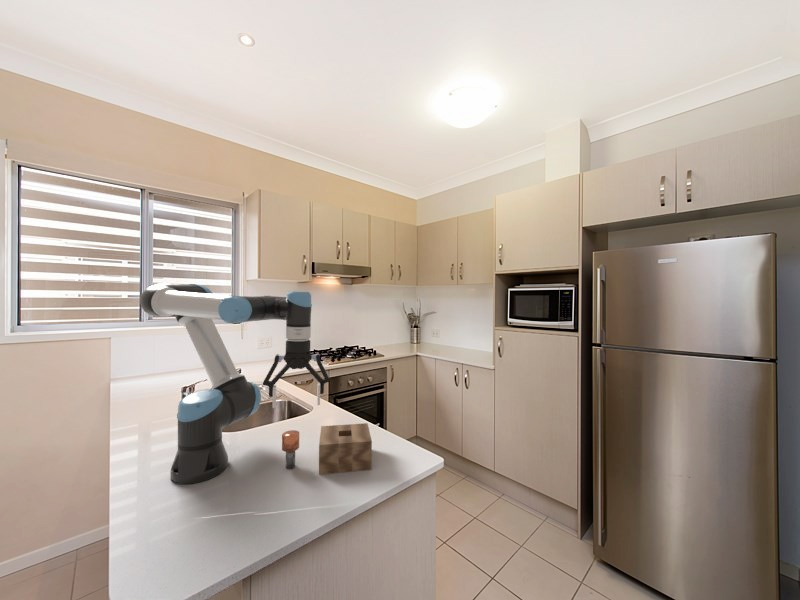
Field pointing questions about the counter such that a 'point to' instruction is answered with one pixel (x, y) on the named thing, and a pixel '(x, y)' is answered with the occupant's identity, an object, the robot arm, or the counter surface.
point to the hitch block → (345, 448)
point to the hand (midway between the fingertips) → (296, 405)
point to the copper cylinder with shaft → (290, 446)
